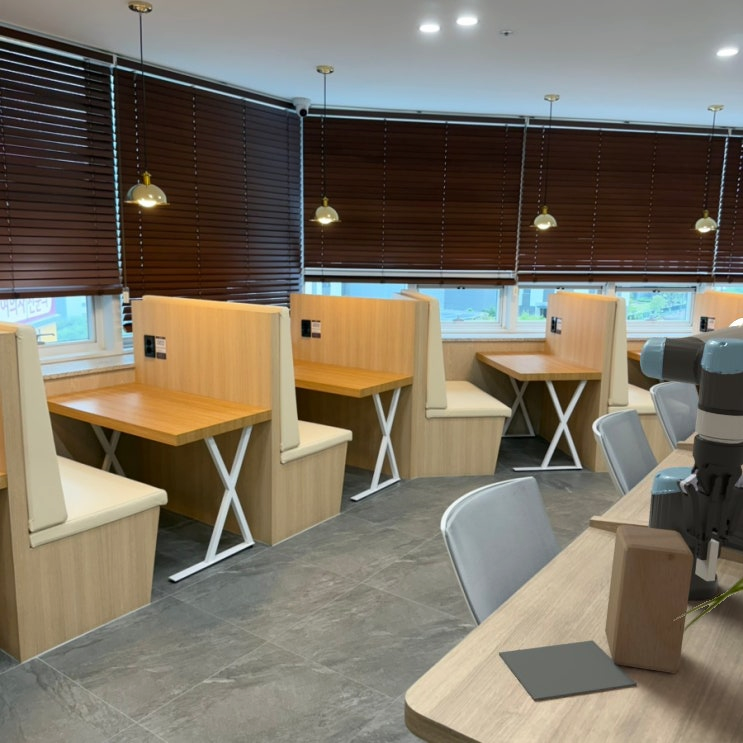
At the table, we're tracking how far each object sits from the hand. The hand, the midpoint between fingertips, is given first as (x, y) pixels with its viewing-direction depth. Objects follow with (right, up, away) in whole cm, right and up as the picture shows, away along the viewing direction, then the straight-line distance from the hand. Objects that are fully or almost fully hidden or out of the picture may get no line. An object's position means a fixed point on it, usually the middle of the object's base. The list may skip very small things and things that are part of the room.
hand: (704, 577), depth 113 cm
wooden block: (-11, -12, -1) cm, 17 cm away
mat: (-24, -13, -5) cm, 28 cm away
